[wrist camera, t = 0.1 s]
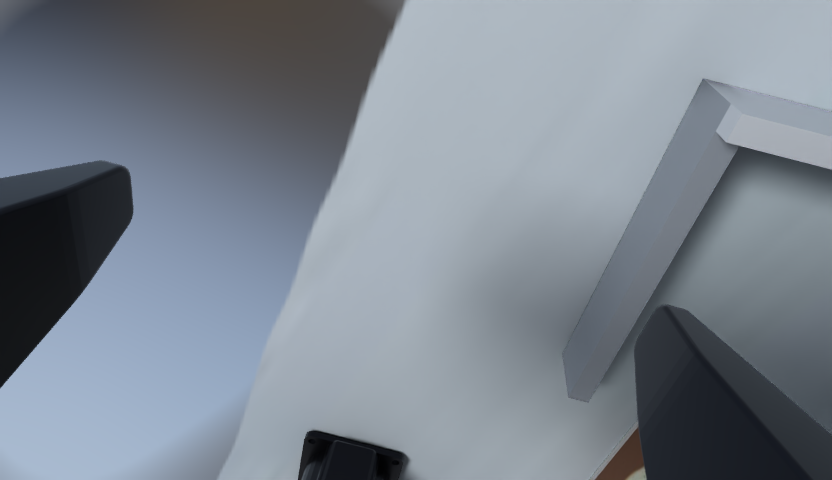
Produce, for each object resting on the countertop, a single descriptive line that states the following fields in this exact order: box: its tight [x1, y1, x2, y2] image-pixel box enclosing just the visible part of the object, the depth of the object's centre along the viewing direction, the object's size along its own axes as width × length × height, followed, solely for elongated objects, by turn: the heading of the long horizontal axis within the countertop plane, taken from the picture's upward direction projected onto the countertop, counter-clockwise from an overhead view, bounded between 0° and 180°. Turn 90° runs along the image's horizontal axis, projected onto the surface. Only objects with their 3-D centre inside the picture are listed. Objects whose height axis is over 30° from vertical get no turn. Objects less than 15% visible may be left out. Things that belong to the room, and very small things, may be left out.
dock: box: [563, 79, 832, 402], centre depth 23 cm, size 15×17×4 cm
